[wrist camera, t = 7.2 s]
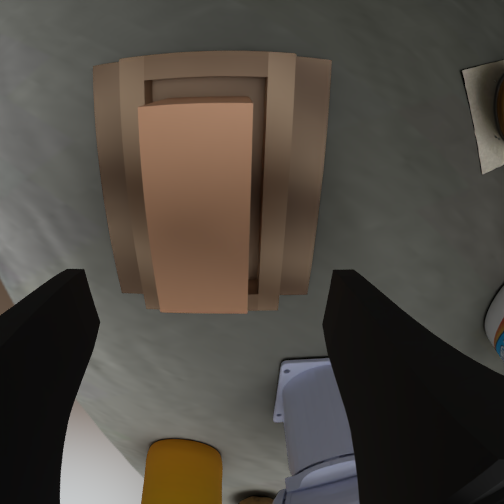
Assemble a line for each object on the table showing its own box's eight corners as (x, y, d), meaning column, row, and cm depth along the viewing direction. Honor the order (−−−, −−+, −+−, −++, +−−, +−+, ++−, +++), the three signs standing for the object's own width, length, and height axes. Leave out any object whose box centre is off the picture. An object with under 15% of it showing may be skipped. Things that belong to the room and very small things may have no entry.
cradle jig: (305, 287, 21) (311, 309, 19) (125, 285, 21) (115, 307, 19) (327, 61, 14) (340, 58, 12) (98, 66, 14) (80, 66, 12)
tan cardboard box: (244, 256, 19) (247, 313, 15) (176, 256, 19) (160, 312, 14) (248, 96, 14) (253, 103, 10) (166, 98, 14) (137, 106, 10)
